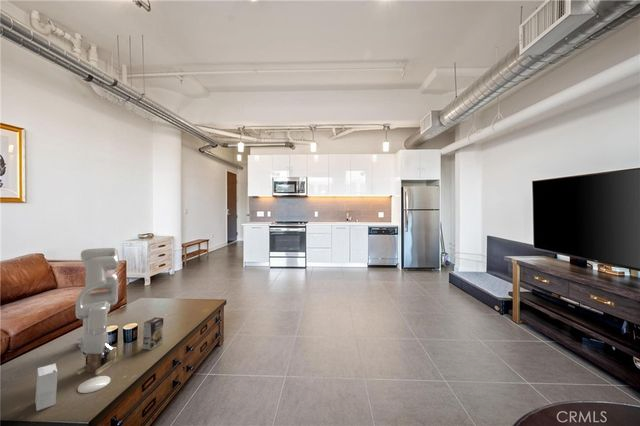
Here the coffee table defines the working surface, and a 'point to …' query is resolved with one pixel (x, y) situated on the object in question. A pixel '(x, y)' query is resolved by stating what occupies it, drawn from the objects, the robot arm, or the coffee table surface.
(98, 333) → the robot arm
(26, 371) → the coffee table surface
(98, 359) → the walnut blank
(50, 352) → the coffee table surface
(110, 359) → the birch slot
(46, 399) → the skincare box
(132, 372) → the coffee table surface
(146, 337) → the coffee box
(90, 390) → the ceramic coaster
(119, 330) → the coffee table surface
